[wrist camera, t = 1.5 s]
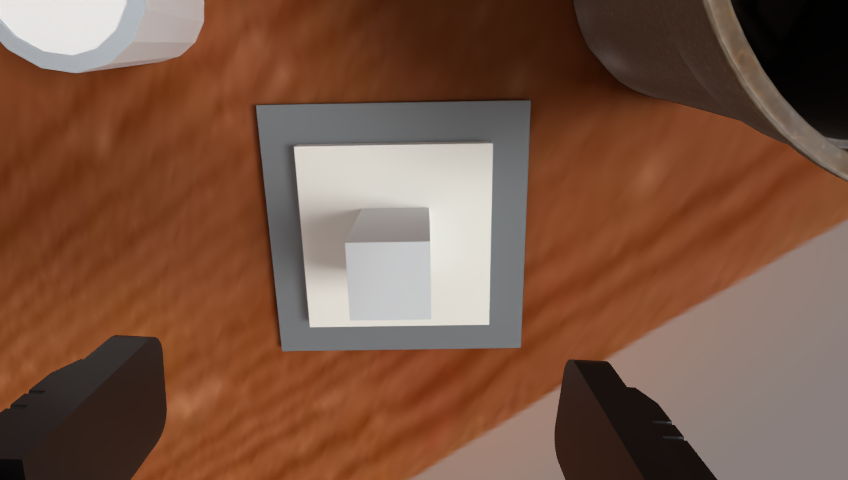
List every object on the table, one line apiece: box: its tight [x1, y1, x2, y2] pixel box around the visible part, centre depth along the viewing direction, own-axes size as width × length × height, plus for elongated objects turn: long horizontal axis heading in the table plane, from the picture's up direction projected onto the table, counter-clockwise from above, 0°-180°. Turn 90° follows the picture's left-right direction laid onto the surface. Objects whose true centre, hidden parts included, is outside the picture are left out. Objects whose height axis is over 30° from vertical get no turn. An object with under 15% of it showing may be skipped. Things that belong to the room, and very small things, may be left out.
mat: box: [256, 100, 531, 351], centre depth 29 cm, size 14×14×1 cm
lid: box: [294, 141, 493, 327], centre depth 25 cm, size 10×10×7 cm
